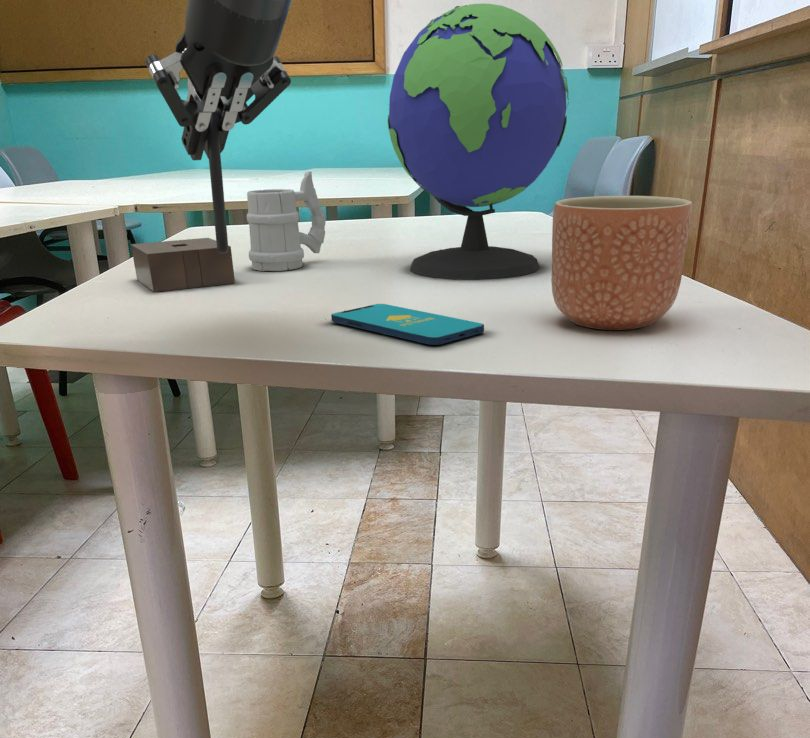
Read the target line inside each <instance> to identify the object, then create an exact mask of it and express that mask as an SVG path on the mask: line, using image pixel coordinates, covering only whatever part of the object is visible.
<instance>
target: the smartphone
mask: <svg viewBox="0 0 810 738" xmlns="http://www.w3.org/2000/svg"><path fill="white" fill-rule="evenodd" d="M330 317H331V322H332V323H336V324H340V325H344V326H348V327H352V328H356V329H362V330H365V331H370V332H374V333H378V334H382V335H387V336H391V337H395V338H398V339H399V338H400V339H404V340H409V341H413V342H417V343H421V344H425V345H429V346H430V345H431V346H438V345H444V344H447V343H450V342H451V343H452V342H454V341H457V340H461V339H465V338H469V337H472V336H476V335H479V334H482V333H484V332H485V324H484V323H481V322H478V321H472V320H467V319H462V318H458V317H452V316H447V315H443V314H437V313H433V312H427V311H422V310H418V309H412V308H407V307H401V306H397V305H392V304H388V303H374V304H370V305H366V306H361V307H356V308H353V309H348V310H344V311H338V312H334V313H332V314H331V315H330Z"/></svg>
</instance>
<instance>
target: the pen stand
mask: <svg viewBox="0 0 810 738" xmlns="http://www.w3.org/2000/svg"><path fill="white" fill-rule="evenodd" d="M130 248H131V254H132V258H133V265H134V269H135V276H136V277H135V278H136V280H137V281H138V282H139V283H141V284H142V285H143V286H145V288H147V289H148V290H150V291H152V292H153V293H158V292H159V293H160V292H168V291H177V290H185V289H186V290H187V289H196V288H205V287H216V286H223V285H231V284H232V285H234V284H236V279H235V272H234V271H235V270H234V263H233V261H234V260H233V254H232V247H231V245H228V251H227V252H226V253H225V254H221V253H220V252H218V250H217V243H216V239H213V238H211V237H200V238H187V239H177V240H176V239H175V240H165V241H153V242H143V243H142V242H140V243H131V244H130Z"/></svg>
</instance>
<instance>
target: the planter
mask: <svg viewBox="0 0 810 738" xmlns="http://www.w3.org/2000/svg"><path fill="white" fill-rule="evenodd" d="M692 217H693V202H692V201H691V200H689V199H684V198H679V197H669V196H654V195H598V196H597V195H596V196H581V197H570V198H564V199H561V200H557V201H555V202H554V206H553V212H552V231H551V292H552V298H553V301H554V304H555V306H556V307H557V309H558V310H559V311H560V312H561V314H562V315H564V317H565V318H567V320H569V321H570V322H572V323H573V324H575V325H578V326H581V327H585V328H588V329H595V330H605V331H623V330H624V331H625V330H627V331H628V330H635V329H641V328H645V327H648V326H650V325H652V324H654V323H655V322H657V321H658V320H660V319H662V317H664V316H665V314H667V313H668V312H669V311H670V310H671V308H672V307H673V306H674V303H675V302H676V299H677V298H678V295H679V290H680V286H681V283H682V277H683V269H684V264H685V259H686V258H685V257H686V254H687V249H688V242H689V237H690V230H691V225H692Z"/></svg>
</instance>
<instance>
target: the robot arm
mask: <svg viewBox="0 0 810 738" xmlns="http://www.w3.org/2000/svg"><path fill="white" fill-rule="evenodd" d="M292 2H293V0H187V2H186V8H185V18H184V19H185V21H184V22H185V23H184V31H183V33H182V35H181V36H180V38H179V39H178V40H177V42H176V44H175V47H174V48H175V49H174V50H175V52H173V53H171V54H169V55H167V56H165V57H163V58H161V59H160V57H159V56H158V55H157V54H150V55H148V56H147V57H146V58H145V63H144V64H145V65H146V68H147V69H148V71H149V74H150V75H151V78H152V79H153V81H154V83H155V85H156V87H157V89H158V90H159V92H160V94H161V95H162V97H163V99H164V101H165V103H166V104H167V106H168V108H169V110H170V112H171V113H172V115H173V117H174V118H175V120H176V122H177V124H178V125H179V127H182V128H183V130H182V134H181V143H182V145H183V147H184V149H185V151H186V153H187V155H188V156H190V159H191V160H192V161H202V159H203V154H204V153H205V156H206V157H207V159H208V160H209V156H208V145H207V134H208V132H209V131H208V130H207V128H208V126H209V122H210V118H211V114H212V112H216V109H217V120H218V131H219V143H220V154H222V153H223V151H224V150H225V147H226V143H227V139H228V136H229V133H230V131H231V130H232V129H233V128H234V127H235V125H236V124H237V123H241V124H243V125H245V126H247V125H249V124H251V123H252V122H253V121H254V120H256V118H257V117H258V116H259V115H261V113H262V112H264V111H265V110H266V109H267V108H268V107H269V106H270V105H271V104H272V103H273V102H274V101H275V100H276V99H277V98H278V97H279V96H280V95H281V94H282V93H284V91H285V90H286V89H287V88H288V87H289V86H290V85H291V83H292V80H291V77H290V76H289V74H288V71H287V70H286V68H285V66H284V64H283V62H282V60H281V59H280V57H278V56H274V55H275V54H276V52H277V49H278V46H279V42H280V40H281V36H282V34H283V29H284V27H285V24H286V21H287V18H288V14H289V12H290V8H291V4H292ZM182 71H184V72H185V74H186V75H187V89H188V91H187V95H186V100H184V99H182V98H181V96H180V94H179V92H178V89H179V88H180V81H181V76H180V73H181V72H182ZM253 96H254V100H252V102H251V103H250V104H249V105H248V104H247V102H249V100H250V99H251V98H252V97H253Z"/></svg>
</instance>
